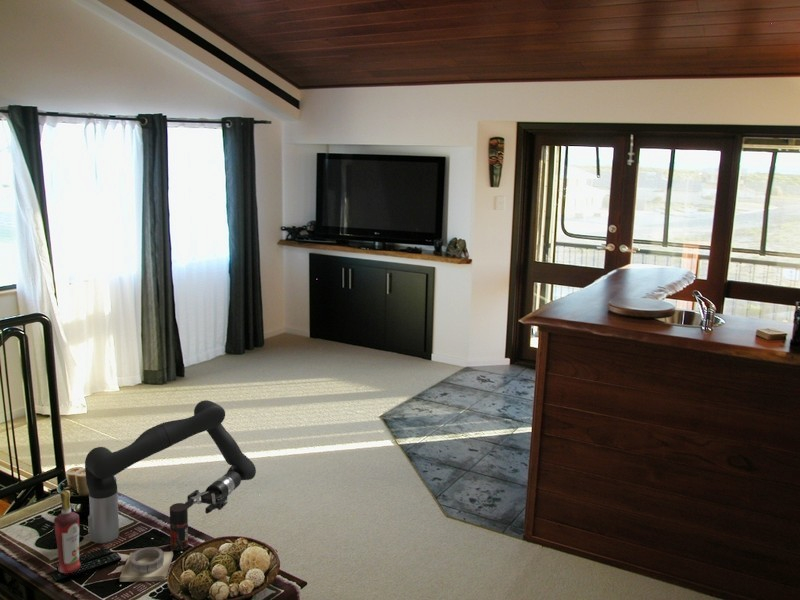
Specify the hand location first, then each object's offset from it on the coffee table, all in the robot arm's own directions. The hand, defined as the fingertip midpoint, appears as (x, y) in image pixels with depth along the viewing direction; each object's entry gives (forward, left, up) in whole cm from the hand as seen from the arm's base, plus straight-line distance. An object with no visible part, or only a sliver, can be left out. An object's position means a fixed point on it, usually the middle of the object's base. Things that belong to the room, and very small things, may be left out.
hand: (196, 508), depth 253 cm
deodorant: (-4, -9, -9) cm, 14 cm away
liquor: (-37, -22, -9) cm, 44 cm away
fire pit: (-12, -22, -9) cm, 27 cm away
